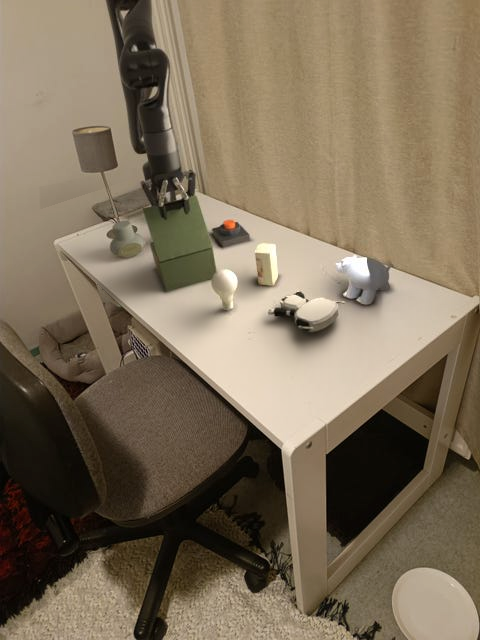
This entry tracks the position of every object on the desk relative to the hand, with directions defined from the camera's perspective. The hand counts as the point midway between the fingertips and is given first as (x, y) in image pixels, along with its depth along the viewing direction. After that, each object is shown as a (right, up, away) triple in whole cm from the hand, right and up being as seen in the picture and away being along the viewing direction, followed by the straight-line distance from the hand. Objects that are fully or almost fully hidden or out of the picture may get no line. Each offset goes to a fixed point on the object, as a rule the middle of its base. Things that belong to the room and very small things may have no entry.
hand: (175, 215), depth 114 cm
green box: (+1, -13, +14) cm, 19 cm away
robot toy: (+32, -27, -9) cm, 43 cm away
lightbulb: (+14, -24, -3) cm, 28 cm away
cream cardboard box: (+24, -16, +6) cm, 30 cm away
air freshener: (-19, -6, +28) cm, 34 cm away
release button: (+13, +3, +27) cm, 30 cm away
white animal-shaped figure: (+48, -19, -2) cm, 51 cm away
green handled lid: (0, -3, +3) cm, 4 cm away
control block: (+14, 0, +29) cm, 32 cm away
